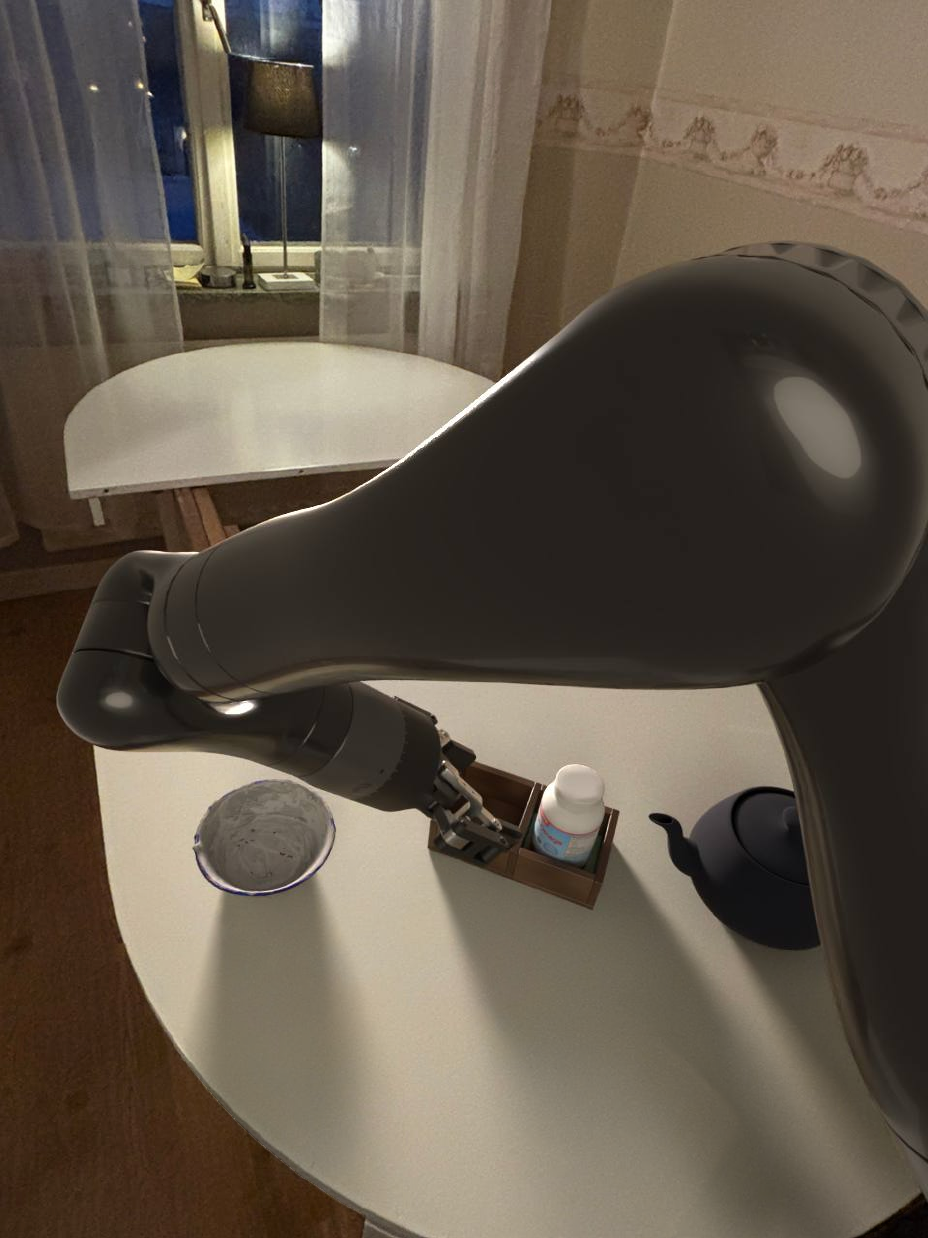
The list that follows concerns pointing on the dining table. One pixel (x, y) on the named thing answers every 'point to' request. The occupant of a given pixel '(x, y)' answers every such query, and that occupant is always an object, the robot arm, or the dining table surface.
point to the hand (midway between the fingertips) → (489, 799)
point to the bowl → (264, 838)
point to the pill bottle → (570, 816)
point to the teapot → (750, 866)
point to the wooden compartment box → (520, 808)
